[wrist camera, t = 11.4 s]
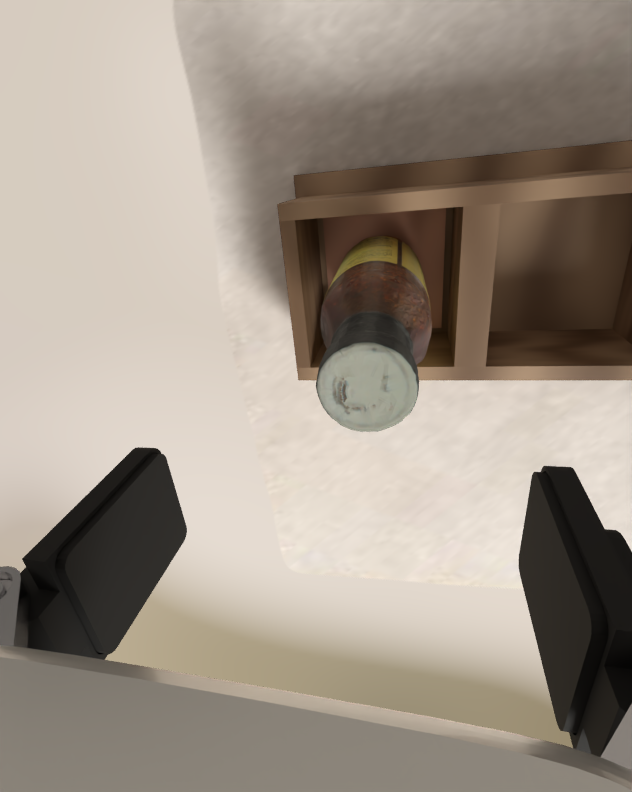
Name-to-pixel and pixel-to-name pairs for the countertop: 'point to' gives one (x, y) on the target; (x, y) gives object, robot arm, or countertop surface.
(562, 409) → the countertop surface
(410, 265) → the sauce bottle
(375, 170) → the caddy
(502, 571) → the countertop surface
